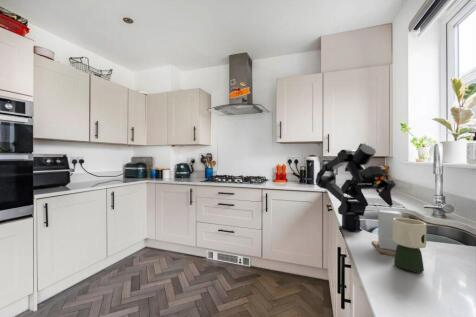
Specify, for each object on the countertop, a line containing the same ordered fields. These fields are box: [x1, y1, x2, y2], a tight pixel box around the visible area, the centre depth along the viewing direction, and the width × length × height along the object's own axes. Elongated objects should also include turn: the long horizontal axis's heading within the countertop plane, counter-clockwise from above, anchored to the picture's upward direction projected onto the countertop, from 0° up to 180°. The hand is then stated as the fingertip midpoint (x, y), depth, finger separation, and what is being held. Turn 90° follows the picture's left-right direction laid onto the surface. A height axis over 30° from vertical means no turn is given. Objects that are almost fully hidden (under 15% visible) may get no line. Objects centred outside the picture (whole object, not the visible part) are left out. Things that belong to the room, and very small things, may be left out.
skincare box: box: [377, 209, 403, 250], centre depth 69 cm, size 6×4×12 cm
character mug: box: [393, 217, 427, 273], centre depth 57 cm, size 11×7×13 cm, turn 146°
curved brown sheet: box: [371, 240, 396, 257], centre depth 69 cm, size 10×8×1 cm
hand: (379, 205), depth 74 cm, fingers open, 9 cm apart
